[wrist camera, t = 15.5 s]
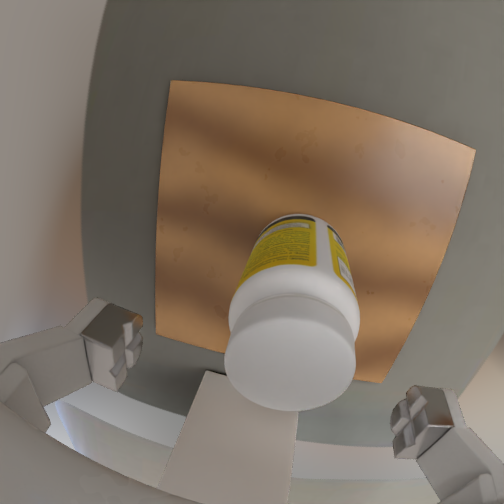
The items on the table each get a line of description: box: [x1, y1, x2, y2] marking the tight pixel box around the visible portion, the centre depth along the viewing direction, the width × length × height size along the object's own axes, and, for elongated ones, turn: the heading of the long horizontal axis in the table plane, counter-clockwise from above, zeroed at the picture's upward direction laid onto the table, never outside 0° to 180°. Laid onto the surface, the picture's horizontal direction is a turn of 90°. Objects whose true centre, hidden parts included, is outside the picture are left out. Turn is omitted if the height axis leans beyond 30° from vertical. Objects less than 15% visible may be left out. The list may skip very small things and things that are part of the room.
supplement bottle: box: [224, 214, 360, 411], centre depth 12 cm, size 5×5×8 cm
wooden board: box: [155, 80, 476, 383], centre depth 17 cm, size 16×16×1 cm
